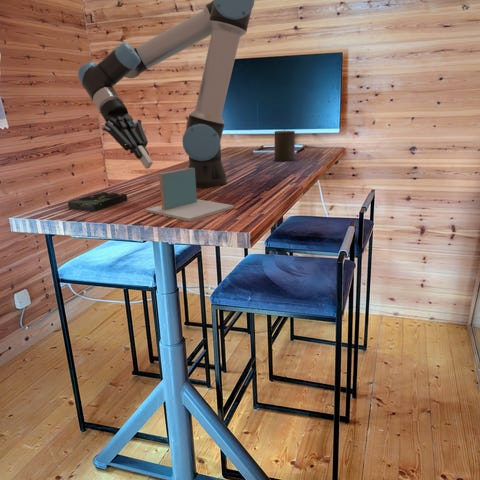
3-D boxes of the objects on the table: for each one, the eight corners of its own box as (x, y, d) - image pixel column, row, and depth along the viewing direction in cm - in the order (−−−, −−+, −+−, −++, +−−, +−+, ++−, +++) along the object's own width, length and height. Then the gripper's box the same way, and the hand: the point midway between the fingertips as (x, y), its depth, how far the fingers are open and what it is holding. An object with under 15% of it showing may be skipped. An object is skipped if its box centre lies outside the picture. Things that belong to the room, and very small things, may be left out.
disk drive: (102, 200, 144) (68, 210, 131) (101, 192, 143) (66, 201, 130) (128, 202, 140) (95, 213, 127) (127, 193, 139) (94, 203, 126)
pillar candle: (284, 162, 208) (284, 129, 204) (270, 160, 216) (270, 128, 211) (298, 160, 214) (299, 128, 210) (284, 158, 221) (284, 127, 217)
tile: (193, 201, 132) (190, 167, 129) (197, 201, 131) (194, 167, 128) (161, 209, 123) (158, 173, 120) (165, 210, 122) (162, 174, 119)
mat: (190, 200, 137) (189, 197, 136) (233, 208, 125) (233, 205, 125) (145, 211, 124) (145, 209, 124) (189, 221, 113) (189, 218, 113)
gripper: (124, 114, 143) (161, 170, 138) (88, 116, 134) (126, 176, 128) (132, 97, 138) (171, 154, 133) (95, 97, 129) (135, 159, 123)
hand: (149, 165), depth 130 cm, fingers closed
